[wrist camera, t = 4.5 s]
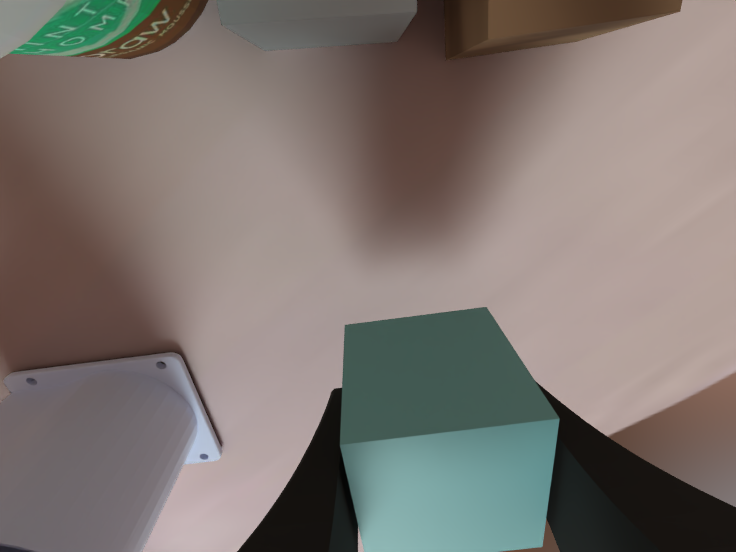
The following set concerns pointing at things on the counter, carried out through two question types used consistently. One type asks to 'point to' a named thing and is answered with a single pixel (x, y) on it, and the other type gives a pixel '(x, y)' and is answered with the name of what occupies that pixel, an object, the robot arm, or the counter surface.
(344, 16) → the slate-grey block
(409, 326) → the teal block
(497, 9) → the brass block
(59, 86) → the counter surface
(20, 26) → the food container
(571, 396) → the counter surface
